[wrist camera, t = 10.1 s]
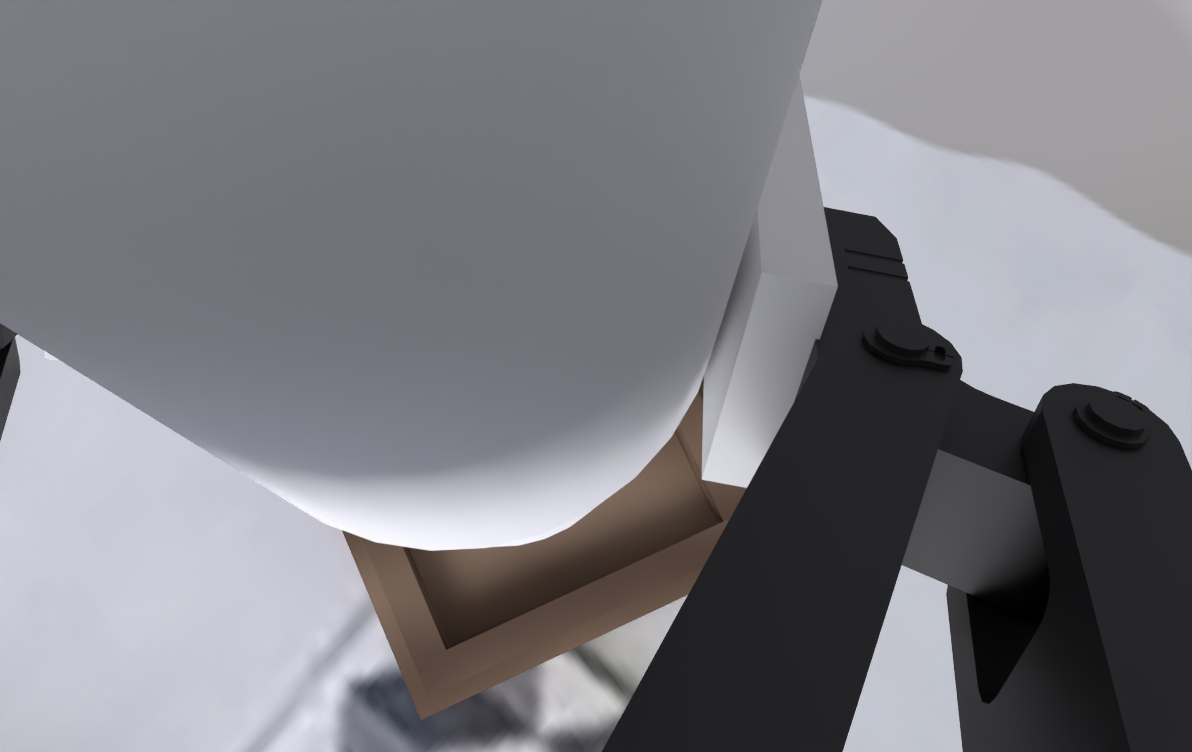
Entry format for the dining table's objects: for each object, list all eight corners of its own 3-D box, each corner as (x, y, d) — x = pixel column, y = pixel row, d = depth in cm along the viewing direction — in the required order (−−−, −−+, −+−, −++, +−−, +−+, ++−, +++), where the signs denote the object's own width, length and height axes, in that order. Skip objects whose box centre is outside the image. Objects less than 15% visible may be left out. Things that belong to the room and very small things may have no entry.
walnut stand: (778, 548, 41) (795, 548, 39) (424, 714, 40) (415, 727, 37) (620, 210, 43) (625, 187, 40) (275, 356, 41) (256, 343, 39)
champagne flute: (642, 285, 27) (1409, -1860, 3) (630, 555, 25) (1700, 681, 2) (374, 269, 26) (-1193, -2206, 3) (351, 541, 25) (-2682, 470, 2)
